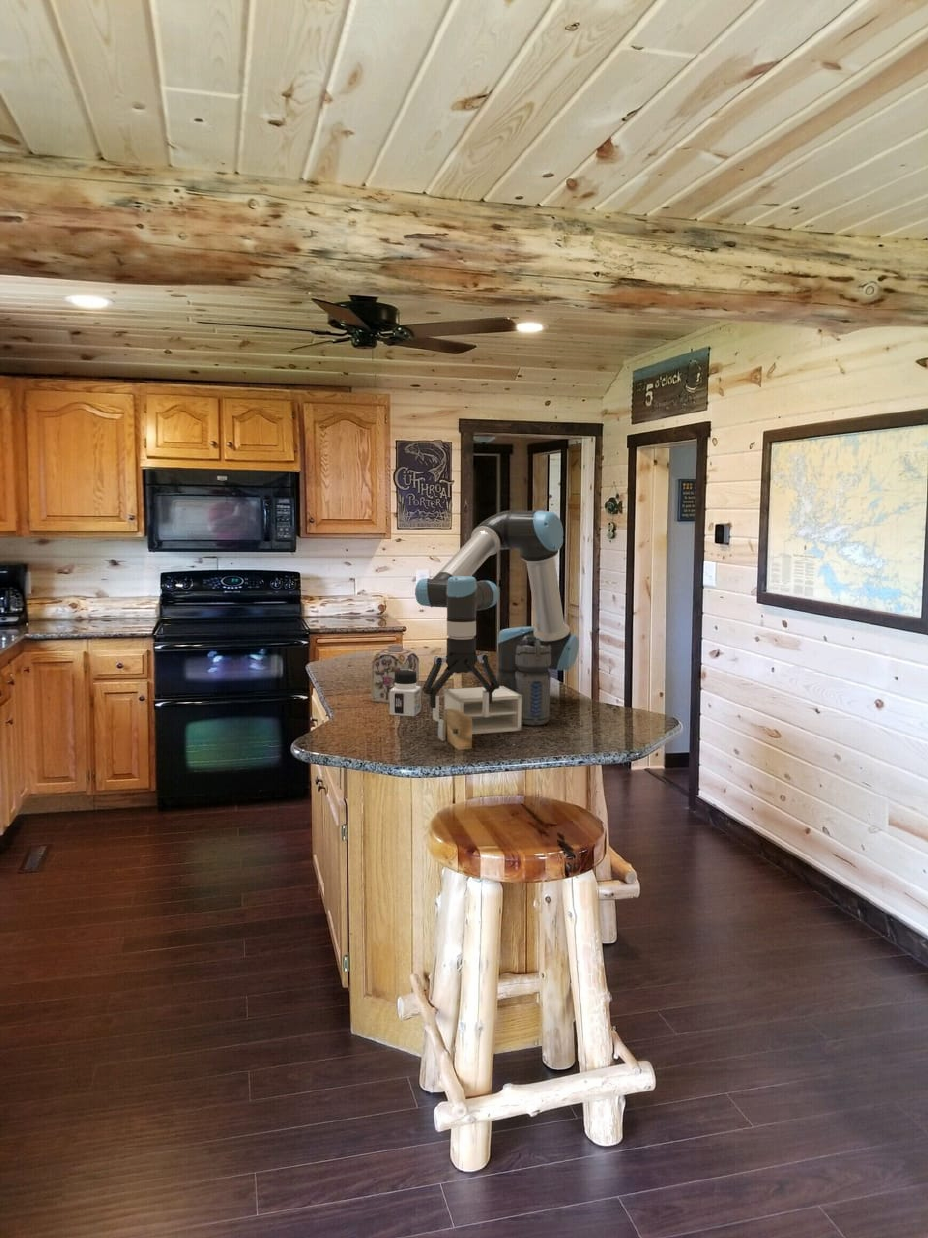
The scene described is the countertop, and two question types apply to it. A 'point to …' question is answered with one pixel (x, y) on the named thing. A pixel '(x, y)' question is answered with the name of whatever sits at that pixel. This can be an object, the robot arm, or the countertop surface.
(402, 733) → the countertop surface
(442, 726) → the bracket
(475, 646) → the robot arm
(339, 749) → the countertop surface
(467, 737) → the oak door
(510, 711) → the block
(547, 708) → the beverage bottle
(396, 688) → the container
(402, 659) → the decorative jar
